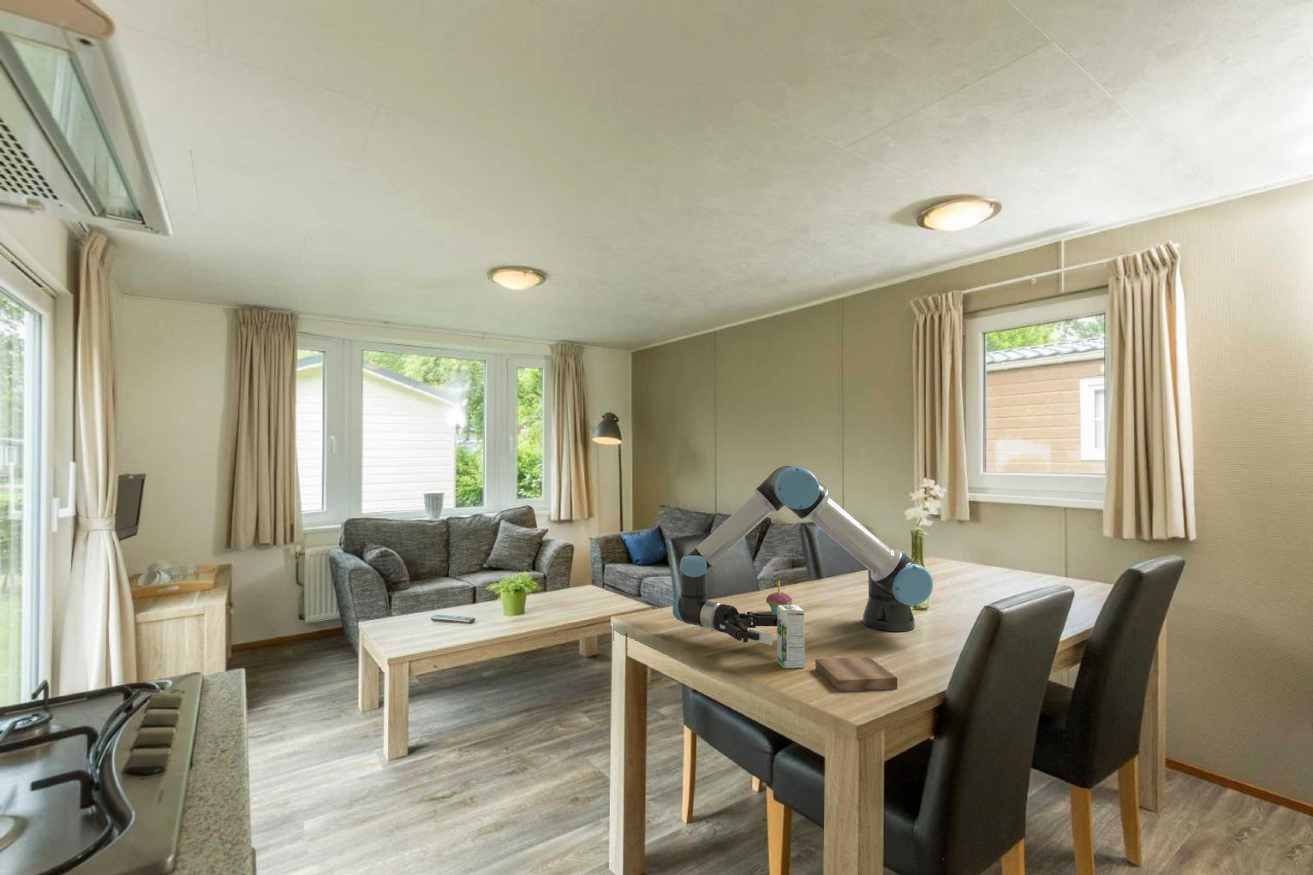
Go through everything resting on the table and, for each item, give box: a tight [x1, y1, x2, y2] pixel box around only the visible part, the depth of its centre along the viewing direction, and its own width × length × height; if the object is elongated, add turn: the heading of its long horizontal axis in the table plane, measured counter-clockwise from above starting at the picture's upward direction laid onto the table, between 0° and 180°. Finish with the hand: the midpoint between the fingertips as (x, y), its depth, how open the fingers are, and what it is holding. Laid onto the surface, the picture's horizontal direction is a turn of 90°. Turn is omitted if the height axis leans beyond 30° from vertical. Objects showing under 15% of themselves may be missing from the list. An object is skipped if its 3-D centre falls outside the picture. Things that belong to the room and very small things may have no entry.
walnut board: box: [815, 656, 898, 692], centre depth 145 cm, size 14×14×2 cm
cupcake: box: [765, 580, 793, 614], centre depth 201 cm, size 9×8×12 cm
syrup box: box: [776, 604, 806, 669], centre depth 154 cm, size 6×6×14 cm
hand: (786, 633), depth 155 cm, fingers open, 13 cm apart
